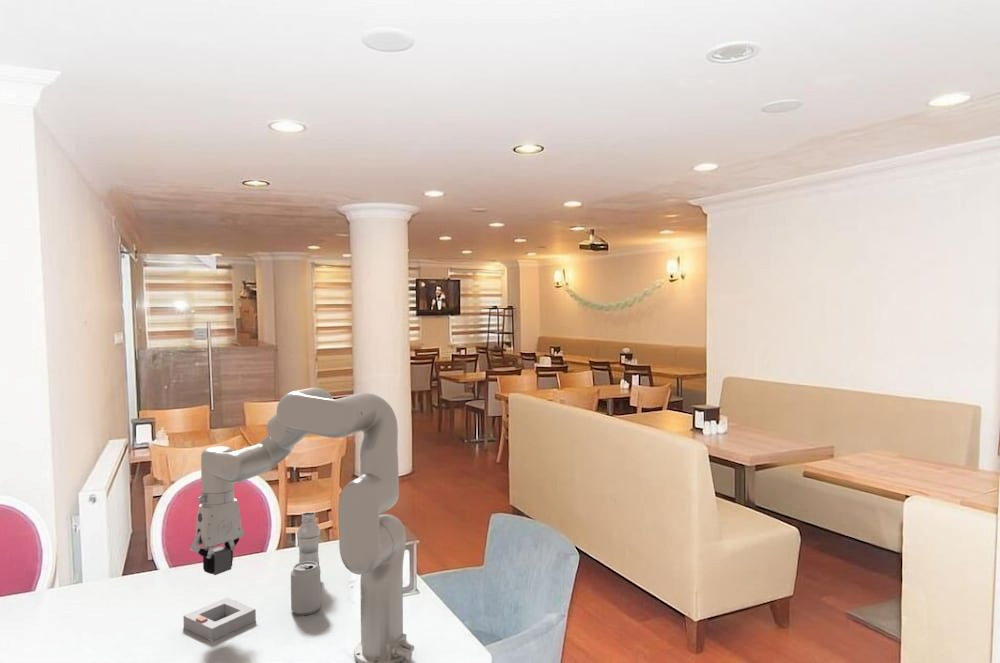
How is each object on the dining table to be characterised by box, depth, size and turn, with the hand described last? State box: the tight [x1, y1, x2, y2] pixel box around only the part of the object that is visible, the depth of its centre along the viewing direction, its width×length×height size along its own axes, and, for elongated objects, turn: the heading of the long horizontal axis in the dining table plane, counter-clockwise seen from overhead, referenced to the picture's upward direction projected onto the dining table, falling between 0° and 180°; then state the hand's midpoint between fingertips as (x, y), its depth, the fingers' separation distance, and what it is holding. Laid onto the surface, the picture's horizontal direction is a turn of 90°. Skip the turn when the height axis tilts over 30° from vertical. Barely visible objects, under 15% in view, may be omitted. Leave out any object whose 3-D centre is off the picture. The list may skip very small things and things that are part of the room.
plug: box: [211, 545, 232, 576], centre depth 160 cm, size 4×4×5 cm
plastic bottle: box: [296, 511, 322, 574], centre depth 185 cm, size 6×7×20 cm
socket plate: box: [183, 597, 257, 642], centre depth 161 cm, size 12×12×4 cm
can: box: [290, 561, 322, 616], centre depth 168 cm, size 8×8×12 cm
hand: (218, 568), depth 160 cm, fingers closed on plug, 4 cm apart
